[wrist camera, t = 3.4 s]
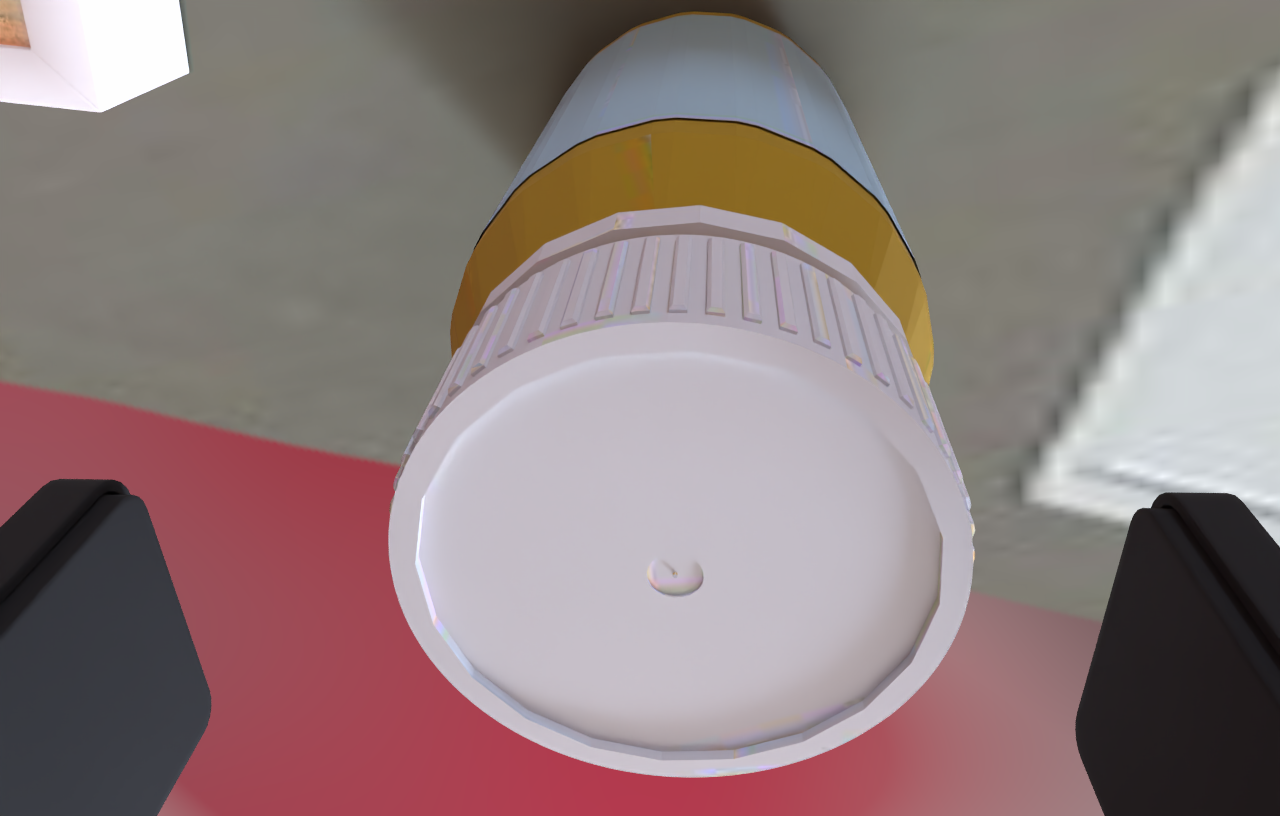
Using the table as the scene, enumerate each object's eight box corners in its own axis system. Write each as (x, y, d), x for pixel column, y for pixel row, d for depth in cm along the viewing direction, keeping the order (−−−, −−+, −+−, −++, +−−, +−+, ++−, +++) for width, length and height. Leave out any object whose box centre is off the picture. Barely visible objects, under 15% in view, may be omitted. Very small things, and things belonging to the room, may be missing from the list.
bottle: (518, 242, 24) (292, 700, 11) (610, -45, 21) (434, 152, 8) (774, 336, 25) (831, 863, 12) (904, 76, 22) (1172, 432, 9)
